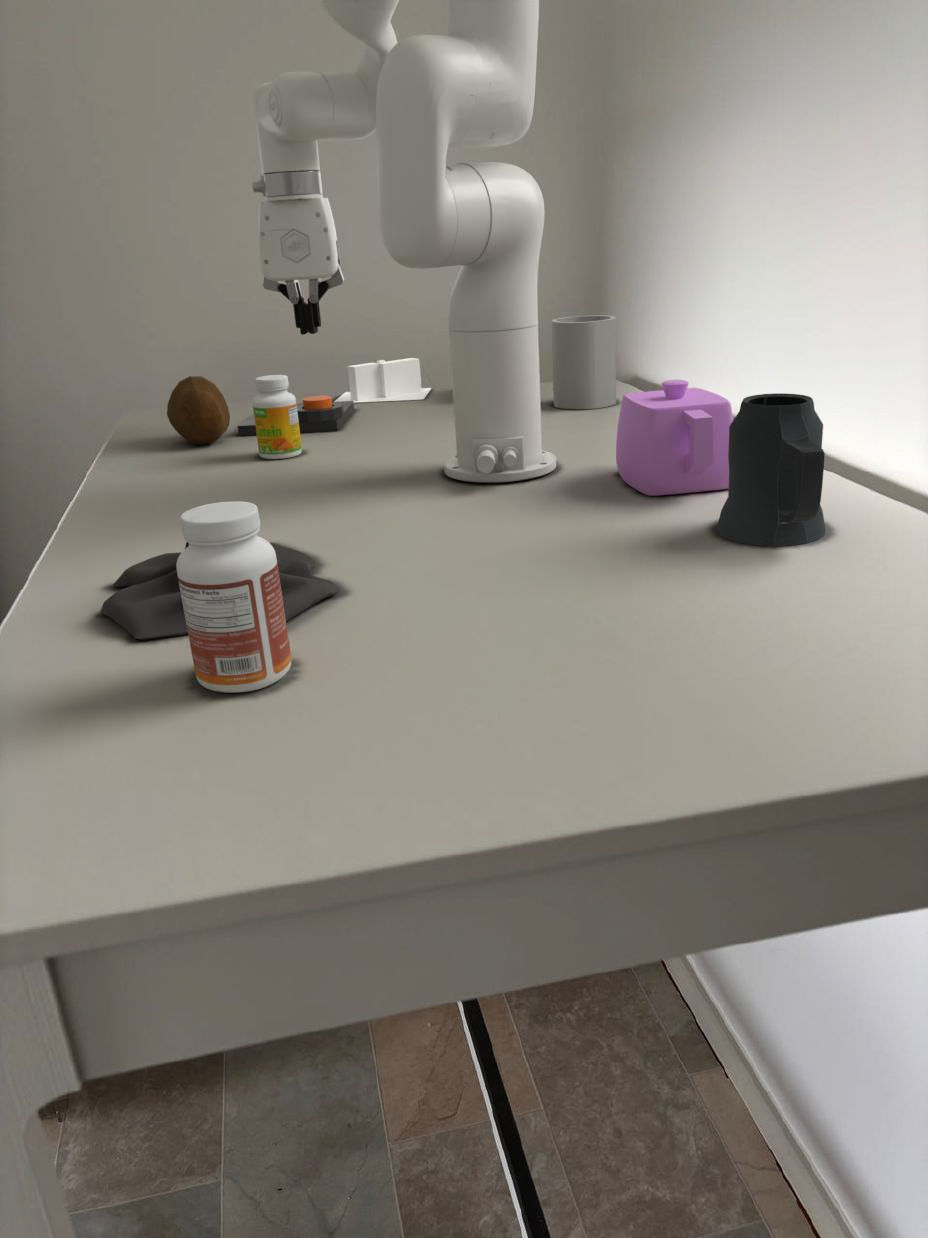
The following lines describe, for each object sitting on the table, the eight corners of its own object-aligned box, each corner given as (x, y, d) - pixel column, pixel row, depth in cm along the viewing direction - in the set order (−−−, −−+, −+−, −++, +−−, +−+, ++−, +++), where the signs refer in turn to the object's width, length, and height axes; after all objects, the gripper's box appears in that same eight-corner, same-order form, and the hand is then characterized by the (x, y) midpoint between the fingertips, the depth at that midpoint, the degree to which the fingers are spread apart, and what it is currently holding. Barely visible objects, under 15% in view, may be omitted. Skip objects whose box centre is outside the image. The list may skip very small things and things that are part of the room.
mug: (701, 520, 92) (705, 394, 88) (798, 510, 93) (806, 386, 89) (752, 561, 81) (758, 420, 77) (861, 550, 82) (874, 410, 78)
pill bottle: (255, 648, 70) (232, 492, 66) (311, 670, 66) (291, 505, 62) (177, 679, 66) (147, 515, 62) (232, 705, 62) (204, 531, 58)
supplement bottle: (252, 459, 128) (241, 380, 124) (271, 450, 132) (261, 374, 129) (290, 460, 126) (281, 380, 123) (309, 450, 131) (300, 373, 127)
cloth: (343, 626, 73) (334, 544, 71) (77, 656, 71) (59, 573, 69) (333, 538, 94) (326, 472, 92) (127, 559, 92) (114, 492, 89)
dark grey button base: (340, 431, 142) (338, 409, 140) (238, 436, 142) (235, 415, 141) (357, 409, 157) (355, 389, 156) (264, 414, 158) (262, 395, 157)
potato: (162, 452, 135) (151, 385, 132) (178, 434, 146) (168, 372, 143) (226, 447, 136) (216, 381, 132) (237, 430, 147) (229, 368, 144)
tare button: (329, 410, 142) (328, 399, 141) (301, 412, 142) (300, 401, 142) (334, 405, 146) (333, 394, 145) (306, 407, 146) (305, 396, 145)
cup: (544, 402, 153) (542, 319, 148) (600, 395, 155) (599, 313, 151) (568, 411, 145) (566, 324, 140) (626, 404, 147) (626, 318, 143)
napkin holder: (431, 387, 172) (429, 352, 170) (424, 399, 162) (421, 362, 160) (344, 392, 174) (341, 357, 172) (331, 403, 163) (327, 367, 161)
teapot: (600, 465, 114) (598, 372, 110) (691, 457, 115) (693, 364, 111) (650, 507, 97) (650, 398, 93) (755, 496, 98) (760, 389, 94)
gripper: (229, 191, 130) (248, 339, 137) (345, 183, 129) (360, 333, 136) (243, 192, 137) (261, 333, 144) (354, 185, 136) (367, 327, 143)
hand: (309, 332), depth 140 cm, fingers closed
